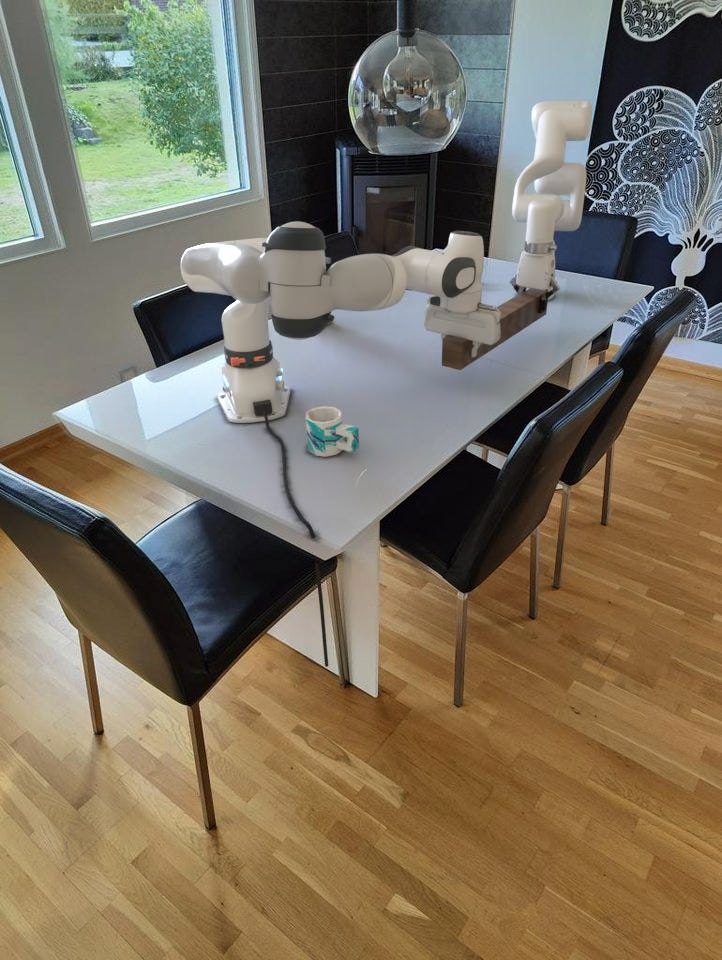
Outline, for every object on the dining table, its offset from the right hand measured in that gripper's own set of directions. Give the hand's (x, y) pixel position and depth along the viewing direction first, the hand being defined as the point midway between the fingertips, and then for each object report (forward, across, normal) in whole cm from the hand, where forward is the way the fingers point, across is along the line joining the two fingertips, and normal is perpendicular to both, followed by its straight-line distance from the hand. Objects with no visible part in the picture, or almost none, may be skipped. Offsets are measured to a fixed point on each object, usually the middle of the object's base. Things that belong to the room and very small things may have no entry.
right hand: (531, 309), depth 198 cm
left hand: (-1, 0, +41) cm, 41 cm away
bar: (+2, 0, +21) cm, 21 cm away
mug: (+8, +6, +86) cm, 86 cm away
